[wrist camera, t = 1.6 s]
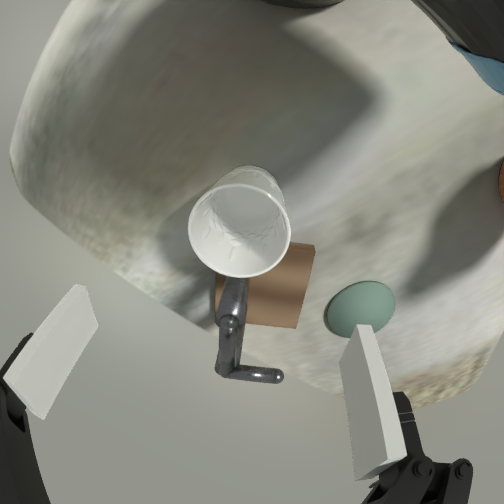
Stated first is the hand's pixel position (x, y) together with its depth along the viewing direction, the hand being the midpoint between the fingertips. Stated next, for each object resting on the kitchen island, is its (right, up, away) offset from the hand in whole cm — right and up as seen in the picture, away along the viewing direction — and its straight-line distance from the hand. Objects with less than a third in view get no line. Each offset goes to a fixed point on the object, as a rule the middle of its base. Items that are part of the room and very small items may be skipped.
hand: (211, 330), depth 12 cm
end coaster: (+17, -4, +24) cm, 30 cm away
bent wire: (+3, 0, +21) cm, 21 cm away
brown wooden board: (+3, 0, +23) cm, 23 cm away
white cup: (+2, +10, +18) cm, 20 cm away
